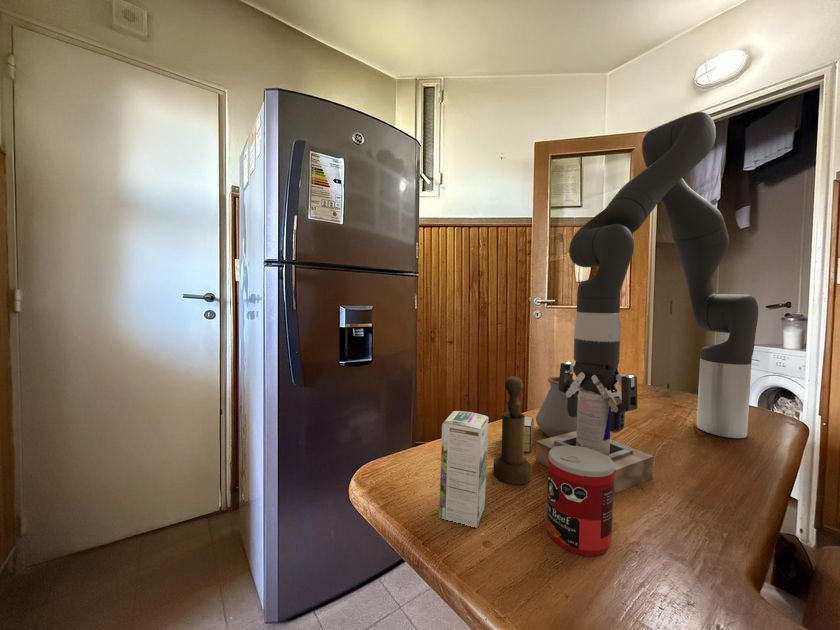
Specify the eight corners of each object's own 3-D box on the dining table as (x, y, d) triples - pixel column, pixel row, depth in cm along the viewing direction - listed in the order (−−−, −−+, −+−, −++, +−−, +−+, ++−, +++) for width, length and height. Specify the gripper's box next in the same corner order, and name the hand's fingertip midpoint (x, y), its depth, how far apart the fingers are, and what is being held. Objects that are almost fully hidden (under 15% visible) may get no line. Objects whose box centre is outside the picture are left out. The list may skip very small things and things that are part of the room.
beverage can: (613, 478, 61) (616, 396, 60) (579, 475, 62) (582, 393, 61) (603, 463, 66) (606, 387, 65) (572, 460, 67) (575, 385, 67)
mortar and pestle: (531, 469, 64) (534, 374, 63) (530, 488, 58) (533, 383, 57) (495, 463, 66) (497, 371, 65) (491, 481, 60) (493, 379, 59)
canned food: (536, 519, 50) (539, 445, 49) (589, 516, 50) (592, 443, 50) (563, 559, 42) (566, 473, 41) (624, 556, 43) (628, 470, 42)
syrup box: (449, 498, 55) (451, 409, 54) (486, 506, 52) (488, 414, 52) (438, 519, 49) (440, 421, 48) (479, 530, 47) (481, 427, 46)
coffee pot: (570, 448, 73) (573, 379, 72) (525, 431, 82) (526, 369, 81) (616, 426, 85) (619, 367, 85) (572, 413, 95) (574, 360, 94)
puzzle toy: (506, 438, 78) (507, 413, 78) (533, 442, 76) (533, 417, 76) (502, 448, 73) (503, 422, 72) (530, 453, 71) (531, 426, 70)
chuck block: (583, 447, 74) (584, 426, 73) (652, 478, 61) (653, 453, 61) (536, 460, 67) (536, 438, 67) (602, 498, 55) (603, 470, 55)
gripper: (649, 340, 58) (644, 433, 59) (576, 332, 71) (574, 409, 72) (622, 343, 55) (618, 442, 56) (551, 334, 67) (548, 414, 68)
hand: (593, 423), depth 64 cm, fingers open, 8 cm apart
